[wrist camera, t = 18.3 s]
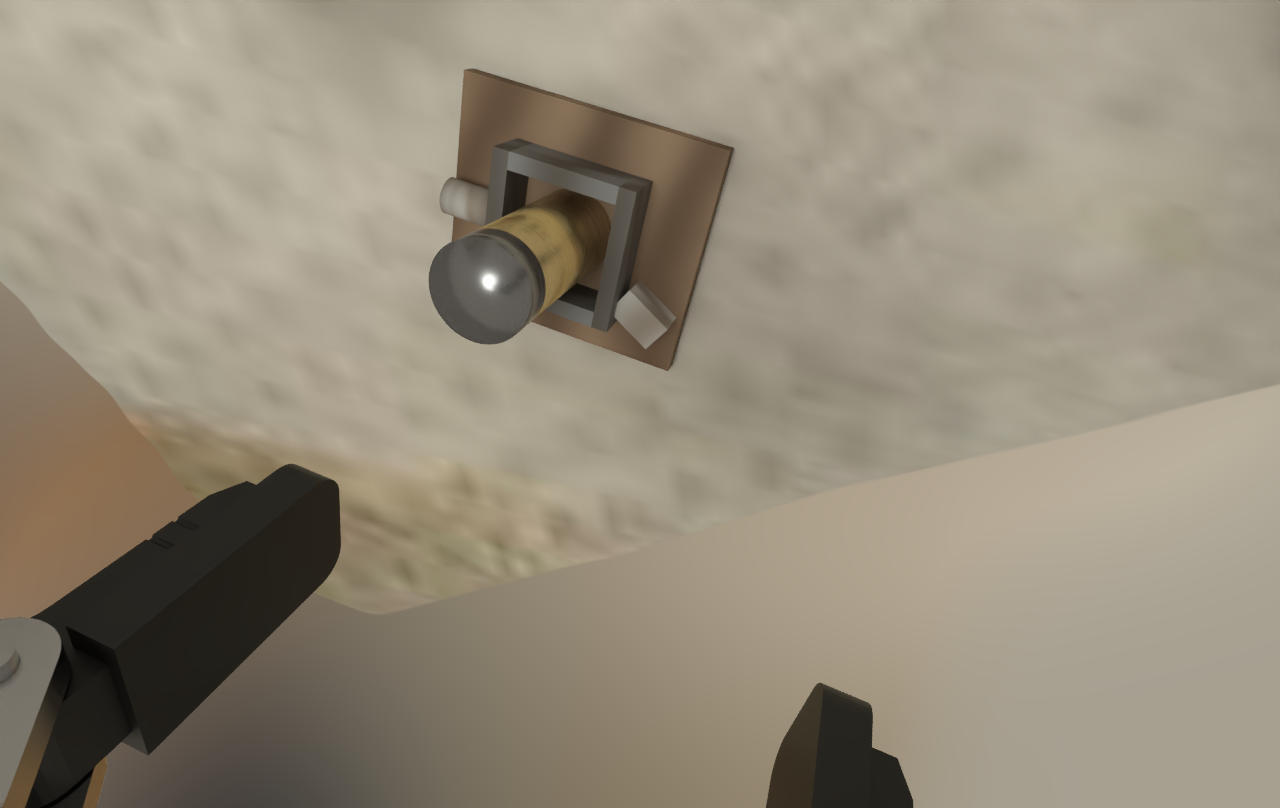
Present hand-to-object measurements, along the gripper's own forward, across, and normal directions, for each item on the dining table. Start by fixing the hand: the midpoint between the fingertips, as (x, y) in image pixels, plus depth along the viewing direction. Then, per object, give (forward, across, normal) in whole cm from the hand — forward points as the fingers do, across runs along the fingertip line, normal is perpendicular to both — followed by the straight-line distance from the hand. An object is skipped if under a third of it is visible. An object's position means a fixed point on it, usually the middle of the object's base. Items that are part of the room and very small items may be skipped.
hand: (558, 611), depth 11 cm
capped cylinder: (+31, -12, -6) cm, 34 cm away
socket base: (+32, -12, -6) cm, 35 cm away
